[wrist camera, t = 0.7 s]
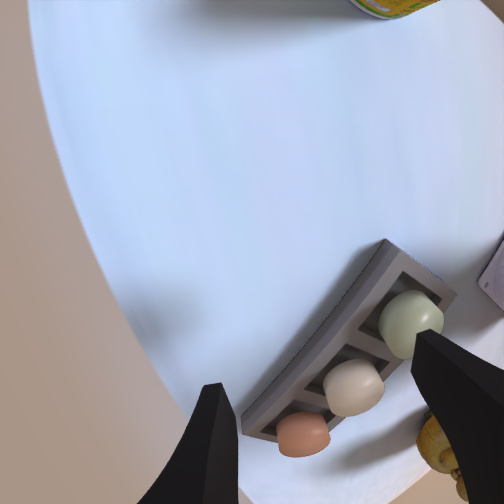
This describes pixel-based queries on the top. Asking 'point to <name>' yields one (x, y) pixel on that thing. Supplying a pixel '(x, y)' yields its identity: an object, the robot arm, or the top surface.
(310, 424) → the terracotta button
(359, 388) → the ivory button
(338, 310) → the panel
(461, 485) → the decorative figurine
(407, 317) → the sage button
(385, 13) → the supplement bottle
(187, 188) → the top surface
